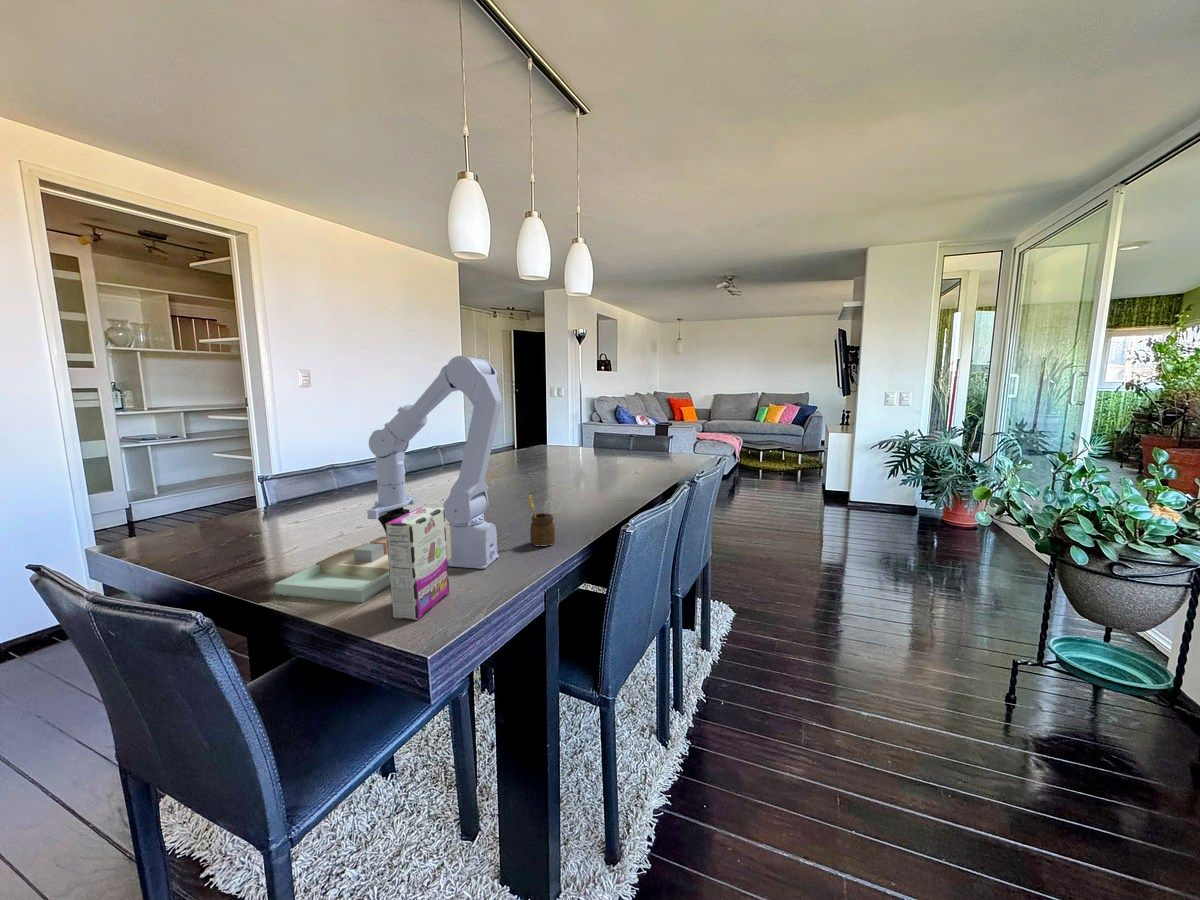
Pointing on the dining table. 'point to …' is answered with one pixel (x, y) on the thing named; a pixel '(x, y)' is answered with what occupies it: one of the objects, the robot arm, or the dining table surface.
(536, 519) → the utensil holder
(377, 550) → the slate-grey block
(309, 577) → the sage tray
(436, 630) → the dining table surface
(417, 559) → the candy bar box
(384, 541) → the terracotta block
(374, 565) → the birch plate
